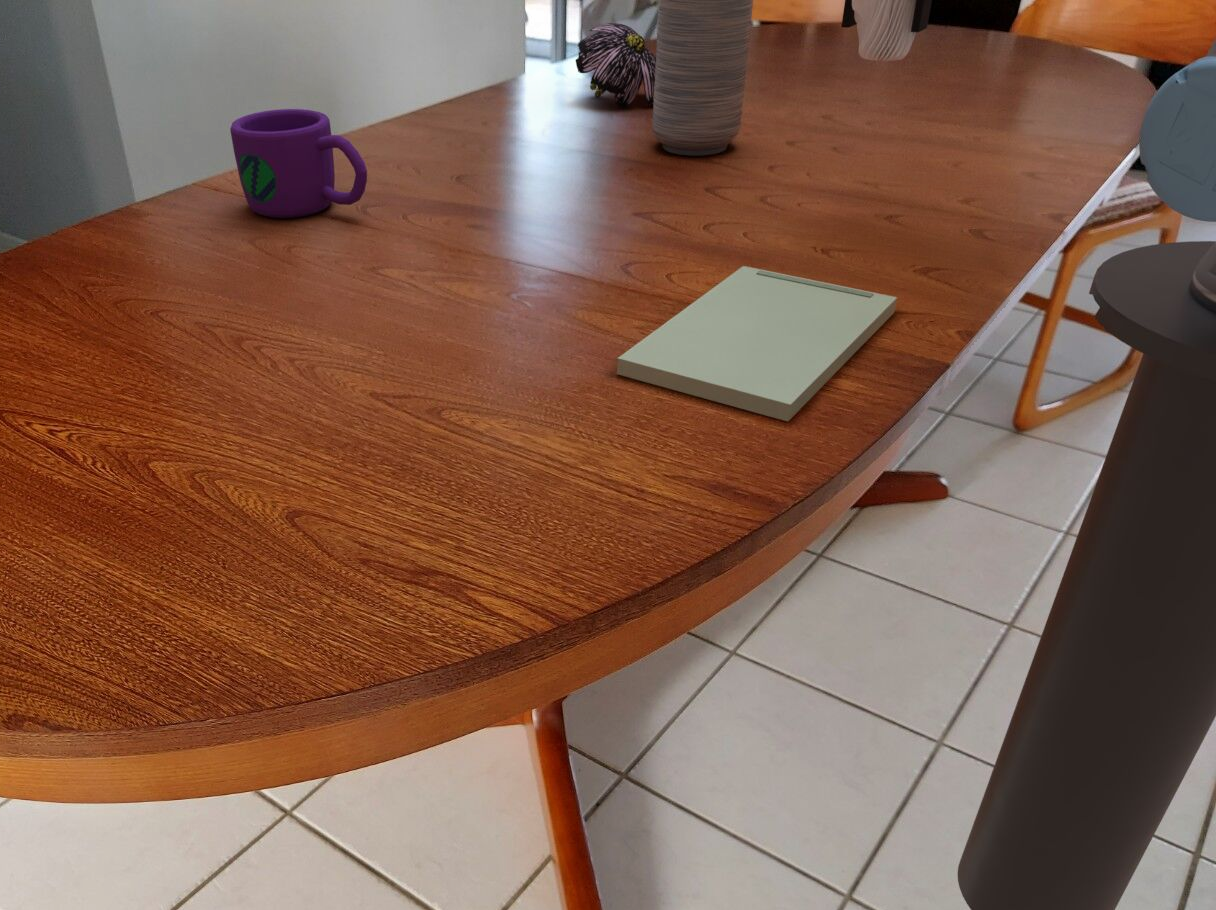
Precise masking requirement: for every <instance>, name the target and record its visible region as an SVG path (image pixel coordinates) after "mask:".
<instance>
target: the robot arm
mask: <svg viewBox="0 0 1216 910" xmlns="http://www.w3.org/2000/svg"><path fill="white" fill-rule="evenodd" d="M932 2H933V0H916V4H915V10H914V16H913V21H912V27H911V32H916V33H920V32H923V31H924V30H926V29H927V28H928V25H929V18H930V13H931V8H932ZM842 12H843V13H842V20H841V26H840V27H841V28H847V29H849V28H851V27H853V26H857V23H856V21H855V18H854V12H855V11H854V10H853V8H852V0H844V5H843V11H842ZM1143 115H1144V116H1143V118H1142V122H1141V125H1140V131H1139V139H1138V148H1139V149H1138V151H1139V159H1140V163H1141V165H1143V166H1144V169H1145V173H1146V180H1147V183H1148V184H1149V186H1150V188H1151V190H1152V191H1153V192H1154V194H1155V195H1156V196H1157V197H1158V199H1160V200H1161V202H1163V203H1164V204H1165V205H1166V206H1167V207H1169V208H1170V209H1171V210H1172V211H1174V212H1176V213H1178V214H1180V215H1181V216H1184V217H1186V218H1190V219H1193V220H1196V221H1201V222H1206V223H1216V37H1215V38H1214V41H1213V42H1212V44H1211V47H1210V48H1209V50H1208V52H1207V54H1206V55H1205V56H1204V57H1201V58H1198V59H1196V60H1195V61H1193V62H1191V63H1189V64H1188V65H1186V66H1184V67H1183V68H1181V69H1180V70H1178V71H1177V72H1175V73H1174V74H1173V75H1171V76H1170V77H1169V78H1167V80H1166V81H1165V82H1164V83H1163V84H1162V85H1161V86H1160V87H1159V88H1158V89H1157V91H1156V92H1155V93H1154V95H1153V97H1152V98H1151V100H1150V101H1149V103H1148V105H1147V107H1146V110H1145V112H1144V114H1143ZM1189 291H1190V293H1191V295H1192V296H1193V297H1194V298H1195V299H1196V300H1197V301H1198V302H1199V303H1200V304H1202V305H1203V306H1205V307H1206V308H1208V309H1210V310H1212V311H1214V312H1216V242H1215V243H1214V244H1213V245H1212V247H1211V248H1210V249H1209V250H1208V252H1207V253H1206V254H1205V255H1204V257H1203V258H1202V259H1201V261H1200V262H1199V264H1198V266H1197V268H1196V269H1195V271H1194V274H1193V276H1192V279H1191V282H1190V285H1189Z"/></svg>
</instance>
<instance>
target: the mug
mask: <svg viewBox="0 0 1216 910" xmlns="http://www.w3.org/2000/svg"><path fill="white" fill-rule="evenodd" d="M230 137H231V142H232V148H233V154H234V158H235V162H236V169H237V171H238V176H239V181H240V184H241V188H242V192H243V194H244V198H245V200H246V202H247V204H248V206H249V207H250V208H251V210H252V211H253V212H255V213H256V214H259V215H261V216H264V217H268V218H275V219H292V218H301V217H306V216H310V215H314V214H317V213H320V212H321V211H323V210H325V209H327V208H328V207H329V206H330V205H331V203H334V204H337V205H343V206H350V205H353V204H355V203H357V202H359V201H360V200H361V198H362V197H363V195H364V193H365V192H366V186H367V183H368V169H367V167H366V164H365V161H364V160H363V157H362V156H361V154H360V152H359V151H358V150H357V149H356V147H355V146H354V145H353V144H352V143H351V142H350V140H348V139H347V138H345V137H343V136H342V135H339V134H332V129H331V121H330V118H329V116H327V115H326V113H324V112H320V111H317V110H311V109H302V108H284V109H283V108H282V109H281V108H280V109H272V110H264V111H257V112H254V113H251V114H247V115H243V116H242V117H239V118H237V119H235V120H234V121H232V122H231V125H230ZM334 149H338V150H340V151H341V152H342V153H343V154H344V156H346V158H347V160H348V162H349V163H350V164H351V166H352V168H353V170H354V174H355V176H354V181H353V185H352V188H351V190H350V192H349V191H348V192H344V191H343V192H341V191H338V190H335V176H336V175H335V174H336V173H335V160H334V159H335V157H334Z"/></svg>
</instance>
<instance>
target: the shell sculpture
mask: <svg viewBox="0 0 1216 910" xmlns="http://www.w3.org/2000/svg"><path fill="white" fill-rule="evenodd" d="M915 4H916V0H852V8H853V10H854V11H855V12H854V18H855V21H856V23H857V24H856V32H857V37H858V55H859V57H860V58H862V59H864V60H868V61H877V62H878V61H880V62H881V61H885V62H894V61H900V60H903V59H904V58H905V57H906V56H907V55H908V54H909V52H910V50H911V47H912V45H913V42H914V39H915V36H916V33H917V32H911V27H912V21H913V16H914V10H915Z"/></svg>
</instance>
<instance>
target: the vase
mask: <svg viewBox="0 0 1216 910" xmlns="http://www.w3.org/2000/svg"><path fill="white" fill-rule="evenodd" d="M753 6H754V0H658V9H657V11H658V12H657V28H656V29H657V31H656V48H655V57H656V65H655V84H654V103H652V105H653V107H652V123H651V124H652V125H651V126H652V131H653V134H654V136H655V138H656V139H657V141H659V142H660V143H661V144H662V145H661V147H662V149H663V150H664V151H665V152H668V153H670V154H673V155H678V156H679V155H680V156H687V157H688V156H689V157H690V156H691V157H701V156H702V157H703V156H712V155H716V154H720V153H722V152H724V151H726V150H727V149H728V145H729V144H730V143H731V142H732V141H734V140H735V139H736V137H737V136H738V135H739V133H740V130H741V127H742V118H743V116H742V115H743V106H744V96H745V86H746V77H747V68H748V67H747V65H748V57H749V46H750V36H751V26H752V17H753V16H752V15H753V9H754V8H753Z"/></svg>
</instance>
